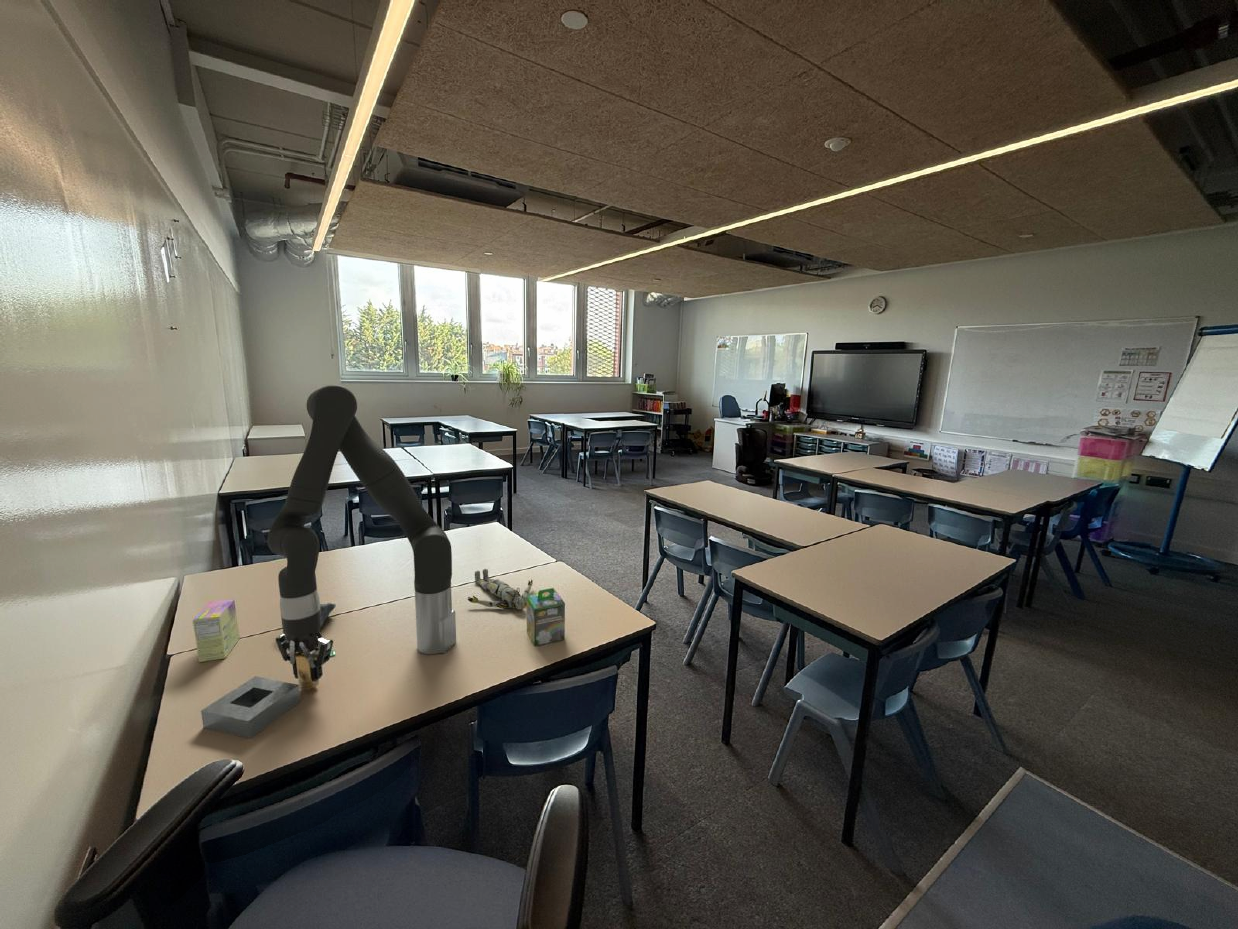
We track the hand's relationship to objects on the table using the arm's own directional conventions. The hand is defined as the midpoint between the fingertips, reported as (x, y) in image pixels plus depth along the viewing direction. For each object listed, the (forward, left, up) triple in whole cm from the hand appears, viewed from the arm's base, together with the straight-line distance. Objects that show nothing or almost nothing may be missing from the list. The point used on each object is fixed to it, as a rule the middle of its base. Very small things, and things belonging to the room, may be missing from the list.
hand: (308, 677), depth 114 cm
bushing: (0, 0, -2) cm, 2 cm away
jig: (+5, +10, -3) cm, 11 cm away
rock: (+23, -24, -3) cm, 34 cm away
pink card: (+7, -13, -4) cm, 15 cm away
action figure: (-21, -56, -3) cm, 60 cm away
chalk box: (-44, -37, -3) cm, 58 cm away
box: (+35, -7, -3) cm, 36 cm away
